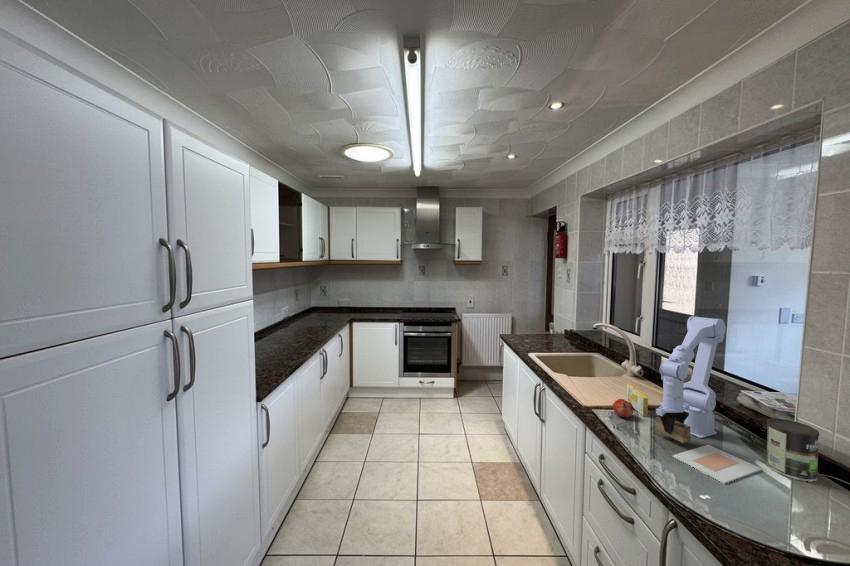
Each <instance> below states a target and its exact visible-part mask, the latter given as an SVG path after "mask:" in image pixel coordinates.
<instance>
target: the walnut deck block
mask: <svg viewBox="0 0 850 566" xmlns="http://www.w3.org/2000/svg"><path fill="white" fill-rule="evenodd" d="M655 418H656V419H655V421H656V422H655V430H656V431H657V432H659V433H661V434H663V435H665V436H666V437H667V436H668V438H669V437H670V438H671V439H673V440H676V441H678V442H679V443H681V444H685V443H687V442H690V441H691V436H692V434H691V427H690V426H688V425H686V424H683V423H680V422H678V421H676V420H675V422H674V426H673V432H672V434H669V433H667V432H665V430H664V427H663V423H662V421H661V419H660V417H659V416H656V417H655Z"/></svg>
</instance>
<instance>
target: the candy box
mask: <svg viewBox="0 0 850 566" xmlns="http://www.w3.org/2000/svg"><path fill="white" fill-rule="evenodd" d="M625 400H626V401H627V402H629V403H631V404H632V406H633V410H635V411H636V412H637V411H638V413H639V414H640V415H641V416H642V417H643V418H644V417H645V418H647V417H648V408H649V398H648V397H647V396H646V395H645V394H643V393H642V392H640V391H639V390H638V389H637V388H636V387H635V386H633V384H630V383H629V384H626V399H625Z"/></svg>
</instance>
